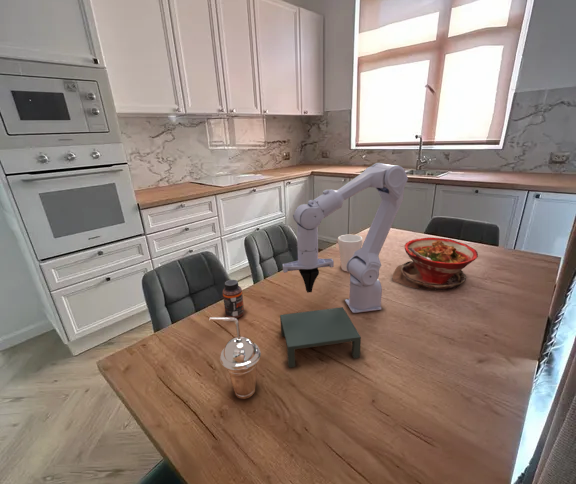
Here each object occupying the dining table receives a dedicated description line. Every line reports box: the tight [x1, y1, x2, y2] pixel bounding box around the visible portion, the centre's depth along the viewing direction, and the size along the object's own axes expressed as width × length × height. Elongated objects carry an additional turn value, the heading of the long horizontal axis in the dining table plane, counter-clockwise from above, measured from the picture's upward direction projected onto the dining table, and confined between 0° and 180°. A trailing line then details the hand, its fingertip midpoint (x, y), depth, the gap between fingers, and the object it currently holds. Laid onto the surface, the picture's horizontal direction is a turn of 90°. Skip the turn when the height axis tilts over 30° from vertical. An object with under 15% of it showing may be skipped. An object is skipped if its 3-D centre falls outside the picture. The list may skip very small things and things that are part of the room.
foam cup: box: [337, 233, 364, 273], centre depth 124 cm, size 10×9×13 cm
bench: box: [279, 306, 362, 369], centre depth 82 cm, size 18×14×6 cm
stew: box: [392, 237, 479, 292], centre depth 111 cm, size 28×24×16 cm
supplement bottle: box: [222, 279, 245, 319], centre depth 96 cm, size 6×6×11 cm
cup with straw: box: [208, 316, 262, 400], centre depth 66 cm, size 8×9×20 cm
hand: (308, 290), depth 92 cm, fingers closed
